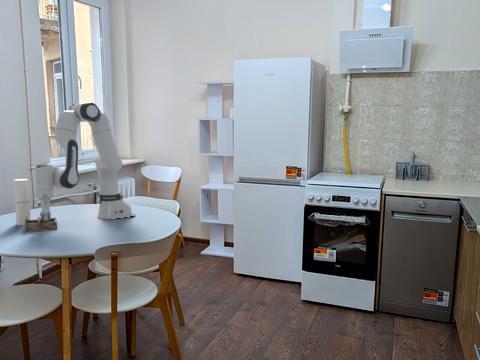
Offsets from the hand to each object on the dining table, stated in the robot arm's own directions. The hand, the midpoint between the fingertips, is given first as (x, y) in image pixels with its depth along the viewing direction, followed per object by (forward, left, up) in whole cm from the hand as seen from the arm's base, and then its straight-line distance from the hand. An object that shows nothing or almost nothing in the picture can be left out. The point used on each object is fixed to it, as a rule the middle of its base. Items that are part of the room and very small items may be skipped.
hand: (45, 218), depth 220 cm
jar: (0, 0, -3) cm, 3 cm away
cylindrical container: (+11, -15, -5) cm, 19 cm away
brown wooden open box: (+2, 0, -5) cm, 6 cm away
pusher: (+3, 0, -4) cm, 6 cm away
